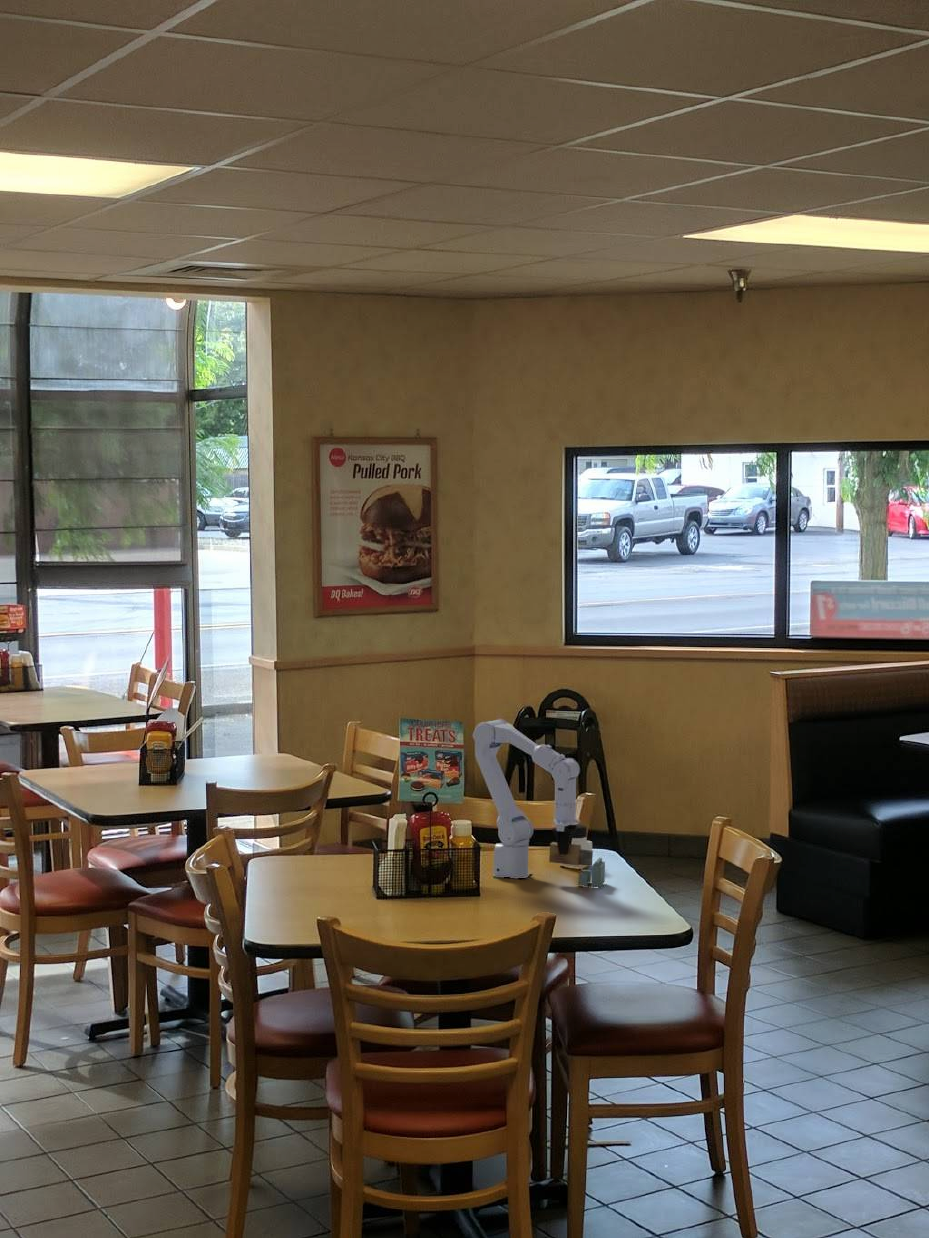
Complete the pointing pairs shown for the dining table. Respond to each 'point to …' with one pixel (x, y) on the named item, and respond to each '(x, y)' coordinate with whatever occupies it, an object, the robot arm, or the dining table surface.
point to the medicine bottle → (580, 840)
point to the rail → (571, 855)
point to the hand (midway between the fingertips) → (564, 852)
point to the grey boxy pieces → (593, 875)
